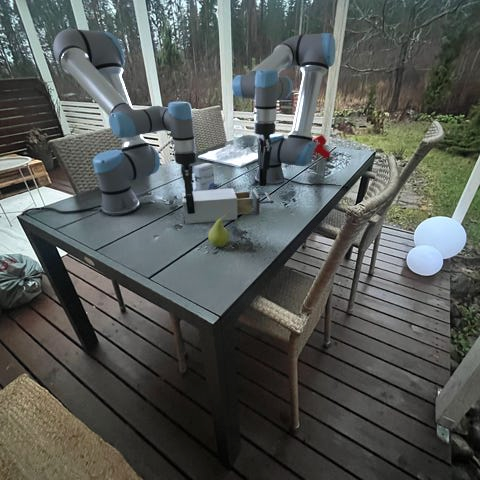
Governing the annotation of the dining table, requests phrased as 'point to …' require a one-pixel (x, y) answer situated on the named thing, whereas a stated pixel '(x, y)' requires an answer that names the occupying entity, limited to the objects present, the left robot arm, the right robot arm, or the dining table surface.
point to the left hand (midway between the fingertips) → (191, 205)
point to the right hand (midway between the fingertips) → (262, 185)
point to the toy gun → (320, 146)
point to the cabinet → (212, 206)
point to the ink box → (204, 176)
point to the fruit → (218, 234)
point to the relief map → (231, 156)
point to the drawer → (250, 202)
